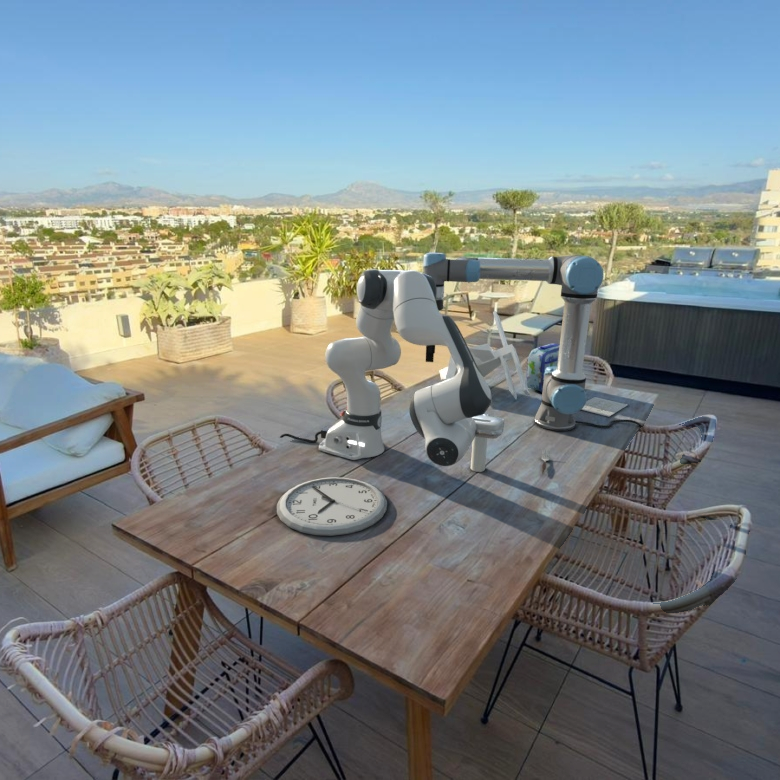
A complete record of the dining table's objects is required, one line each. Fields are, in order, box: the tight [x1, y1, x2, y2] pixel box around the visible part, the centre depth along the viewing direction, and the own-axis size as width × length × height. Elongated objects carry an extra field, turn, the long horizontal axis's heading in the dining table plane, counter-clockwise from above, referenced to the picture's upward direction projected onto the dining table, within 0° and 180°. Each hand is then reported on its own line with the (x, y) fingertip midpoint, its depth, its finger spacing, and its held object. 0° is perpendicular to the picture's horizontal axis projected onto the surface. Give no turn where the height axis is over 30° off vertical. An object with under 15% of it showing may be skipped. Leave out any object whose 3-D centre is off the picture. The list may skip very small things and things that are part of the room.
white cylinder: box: [470, 437, 488, 473], centre depth 164 cm, size 4×4×16 cm
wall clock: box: [276, 476, 388, 537], centre depth 142 cm, size 30×2×30 cm
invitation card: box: [580, 396, 629, 418], centre depth 226 cm, size 21×1×15 cm
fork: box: [541, 449, 551, 474], centre depth 169 cm, size 3×16×2 cm, turn 160°
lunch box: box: [525, 343, 560, 393], centre depth 249 cm, size 26×11×21 cm, turn 134°
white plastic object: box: [438, 310, 531, 400], centre depth 245 cm, size 37×45×31 cm
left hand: (468, 414), depth 140 cm, fingers open, 8 cm apart
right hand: (430, 357), depth 190 cm, fingers open, 13 cm apart
